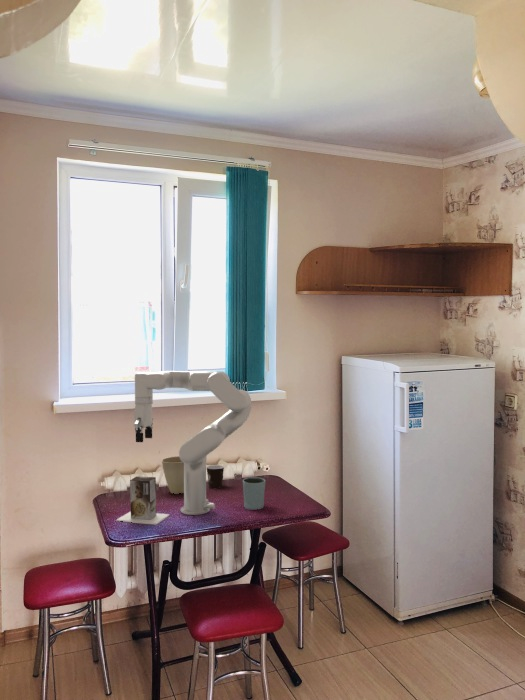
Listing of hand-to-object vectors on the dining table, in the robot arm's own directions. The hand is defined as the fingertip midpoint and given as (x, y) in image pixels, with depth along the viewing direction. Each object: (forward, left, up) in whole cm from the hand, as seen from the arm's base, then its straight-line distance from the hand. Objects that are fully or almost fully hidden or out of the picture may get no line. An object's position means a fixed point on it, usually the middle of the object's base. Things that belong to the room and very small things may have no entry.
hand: (144, 440), depth 250 cm
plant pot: (-2, -30, -31) cm, 43 cm away
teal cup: (-45, -16, -31) cm, 57 cm away
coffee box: (-5, +11, -30) cm, 32 cm away
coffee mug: (-17, -42, -31) cm, 55 cm away
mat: (-5, +11, -31) cm, 33 cm away
